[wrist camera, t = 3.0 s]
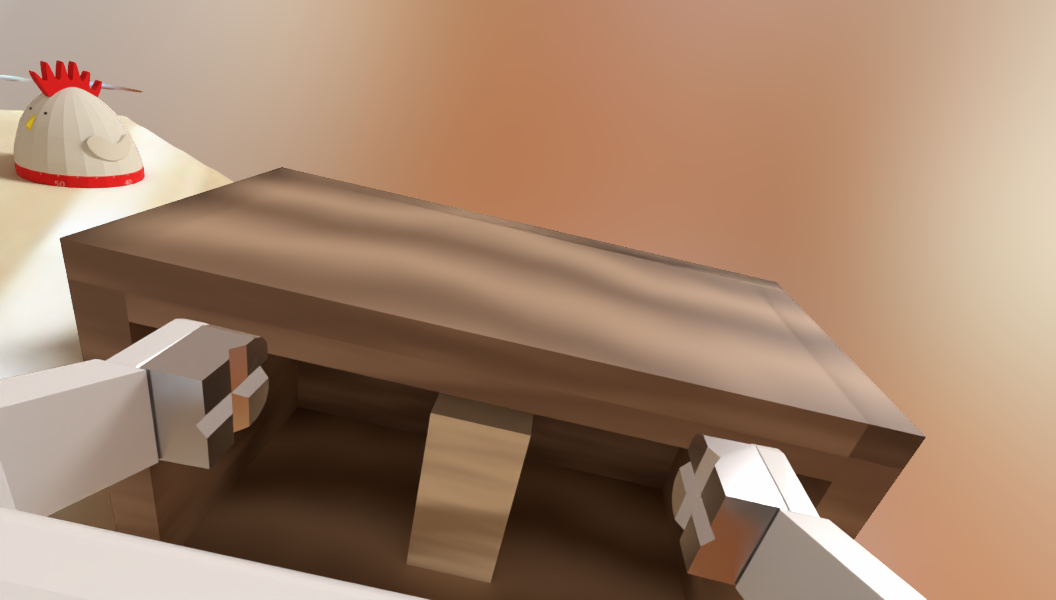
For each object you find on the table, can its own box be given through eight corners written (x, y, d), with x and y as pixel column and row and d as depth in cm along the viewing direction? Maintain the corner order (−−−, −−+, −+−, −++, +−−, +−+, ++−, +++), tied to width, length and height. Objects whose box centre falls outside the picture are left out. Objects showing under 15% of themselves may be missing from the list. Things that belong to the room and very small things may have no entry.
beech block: (490, 583, 26) (530, 435, 22) (406, 564, 26) (430, 412, 22) (501, 514, 30) (537, 379, 26) (428, 498, 30) (453, 359, 26)
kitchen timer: (-12, 167, 67) (-41, 45, 61) (95, 156, 80) (79, 54, 73) (70, 194, 65) (48, 70, 59) (167, 179, 77) (157, 75, 71)
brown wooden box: (720, 729, 25) (925, 437, 17) (129, 599, 25) (59, 238, 17) (671, 508, 38) (775, 282, 30) (280, 420, 37) (281, 167, 29)
